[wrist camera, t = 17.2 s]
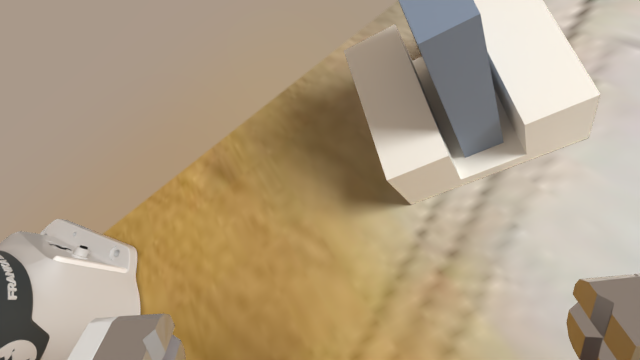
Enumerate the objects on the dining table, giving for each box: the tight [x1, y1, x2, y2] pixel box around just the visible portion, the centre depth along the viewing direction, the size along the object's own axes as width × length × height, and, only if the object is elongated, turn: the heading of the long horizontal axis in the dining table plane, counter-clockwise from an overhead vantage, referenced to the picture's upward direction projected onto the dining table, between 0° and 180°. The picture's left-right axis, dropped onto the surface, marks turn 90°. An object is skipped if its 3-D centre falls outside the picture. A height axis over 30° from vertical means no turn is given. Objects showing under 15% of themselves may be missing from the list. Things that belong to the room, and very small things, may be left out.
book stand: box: [344, 0, 601, 205], centre depth 34 cm, size 14×12×7 cm
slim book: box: [399, 0, 504, 158], centre depth 29 cm, size 3×9×16 cm, turn 16°
